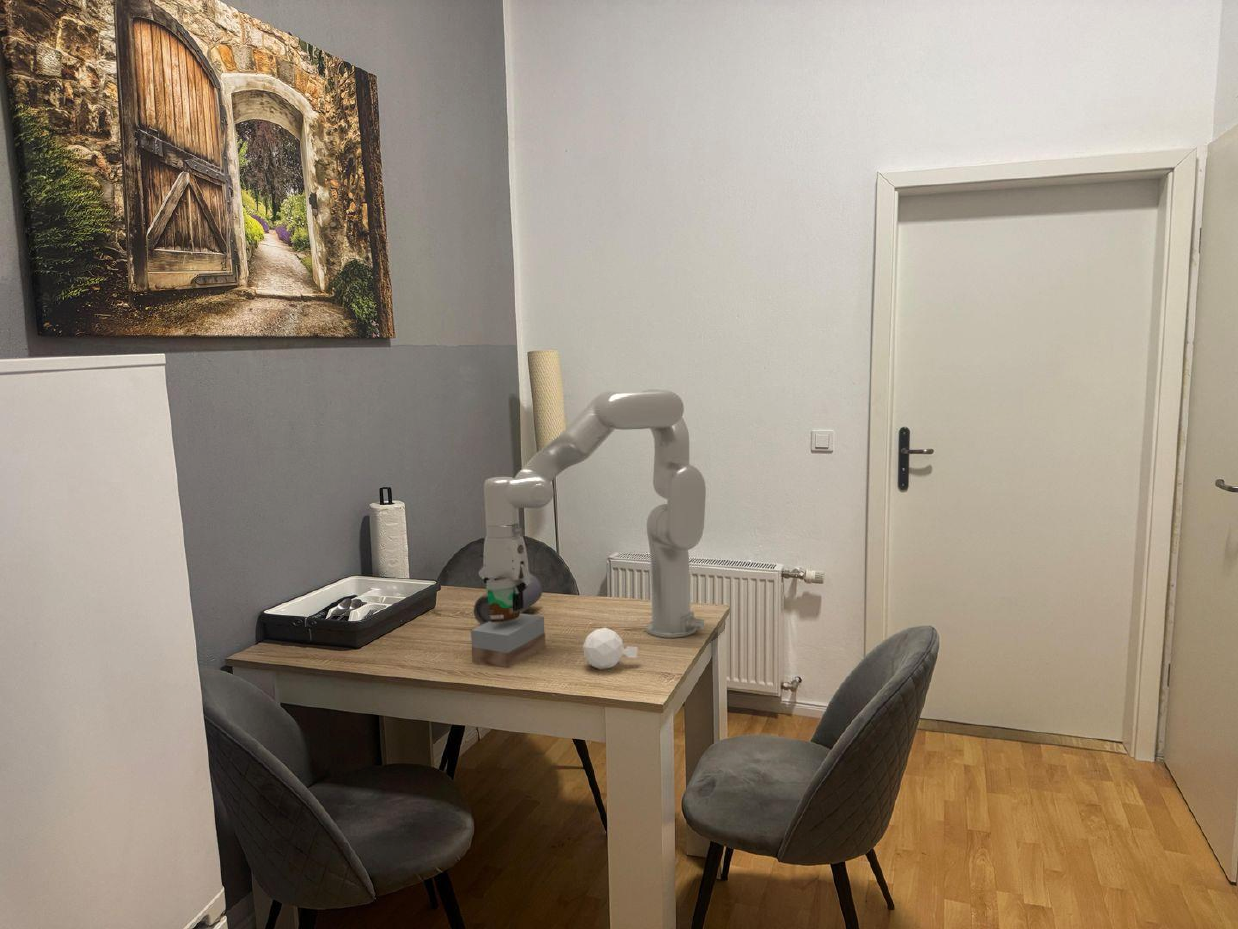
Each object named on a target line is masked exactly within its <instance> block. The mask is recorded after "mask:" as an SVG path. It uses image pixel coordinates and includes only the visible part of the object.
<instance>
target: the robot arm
mask: <svg viewBox="0 0 1238 929" xmlns="http://www.w3.org/2000/svg"><path fill="white" fill-rule="evenodd" d="M684 410H685V407H684V402H683V400H682V398H681V397H680V396H679V395H678V394H677V393H676V392H673V391H671V390H666V389H665V390H664V389H663V390H662V389H652V388H651V389H645V390H642V391H641V392H639V391H638V392H619V391H604V392H601V393H600V394H598V395H597V396H596V397H594V399H593V400H591V402H590V403H588V405H587V406H586V407H585V408H584V409H583V410H582V411H581V412H579V414H578V415H577V417H575V419H574V420H573V421H572V422H571V423H570V424H569V425H568V426H567V427H566V428H565V429H564V430H563V431H562V432H561V433H560V434H559V435H557V436H556V437H554V439H552V440H551V441H550V442H548V443H547V445H545V446H544V447H543V448H541V449H540V450H539V451H538V452H537V453H536V454H535V455H534V456H533V457H532V458H530V459H529V461H528V462H527V463H526V464H524V466H523V467H522V468H521V469H520V470H519V471H518V472H517V473H516V475H515V477H511V476H495V477H490V478H487V479H485V481H484V483H483V494H484V496H483V497H484V512H485V527H486V536H485V537H484V542H483V543H484V544H483V554H482V555H483V559H482V560H483V566H482V567H481V568H480V570H479V571H478V575H479V577H480V578H481V579H482V580H483V582H484V584H485V585H486V583H487V580H494V579H500V580H502V579H508V578H511V580H512V581H514V582H515V581H518V579H519V581H521V584H520V585H519V586H518V585H517V584H516V583H515V585H516V586H515V587H514V593H515V594H513V611H517V610H519V609H522V608H523V604H524V603H523V591H525V589H526V588H527V587H528V585H529V584H530V583H531V582H532V581H533V577H532V575H533V574H531V573H530V571H529V569H530V568H529V561H528V552H527V547H526V543H525V540H524V537H523V536H522V535H521V534H522V533H523V531H524V530H523V528H522V527H520V515H519V514H520V513H519V510H520V509H521V508H523V509H540V508H543V507H546V506H547V505H548V504H549V503H551V501H552V500H553V498H554V487H553V484H552V483H551V482H552V481H553V480H555V478H556V477H557V476H558V475H559V474H561V473H562V472H563V471H565V470H567V469H568V468H570V467H572V466H574V465H578V464H580V463H583V462H584V461H586V460H587V459H589V458H590V457H591V456H592V455H593V454H594V453H595V451H597V450H598V448H599V447H601V445H602V444H603V443H604V442H605V441H606V440H607V439H608V438H609V436H610V435H612V433H613V432H614V431H615V430H621V431H623V430H629V431H630V430H648V429H649V430H650V431H651V434H652V436H653V443H654V445H653V446H654V457H653V473H652V474H653V476H652V478H653V479H652V485H653V486H652V487H653V490H654V492H655V493H656V494H657V495H658V496H659V497H661V498H663V499H665V500H666V501H667V502H666V503H663V504H660V505H657V506H656V507H654V508H653V509H652V510H651V511H650V513H649V514H648V517H647V520H646V533H647V538H648V546H649V557H650V558H649V559H650V585H651V586H650V587H651V588H650V589H651V620H652V621H649V622H648V623H647V624H646V626H645V631H646V632H647V633H648V634H650V635H651V636H655V637H660V638H668V639H669V638H681V637H687V636H691V635H693V634H694V633H696V632H697V630H698V629H699V630H704V629H705V628H704V627H705V620H704V619H703V618H697V617H695V611H691V592H690V591H691V590H690V588H691V586H690V584H691V583H690V557H689V556H690V555H689V550H692V549H694V548H695V547H696V546H697V545H698V544H699V542H700V541H701V539H702V537H703V535H704V534H703V533H704V528H705V514H706V513H705V512H706V493H707V492H706V491H707V490H706V488H707V487H706V482H705V478H704V476H703V474H702V473H701V471H700V470H699V469H698V468H697V467H695V466H693V465H691V464H690V435H689V430H688V427H687V424H686V422H685V420H684V418H683V415H684ZM519 508H520V509H519ZM521 576H522V577H521ZM519 577H520V578H519ZM522 578H524V581H523V580H522Z"/></svg>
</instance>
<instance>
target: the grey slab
mask: <svg viewBox="0 0 1238 929" xmlns="http://www.w3.org/2000/svg"><path fill="white" fill-rule="evenodd" d="M545 632H546V631H545V616H544V615H543V616H542V615H535V614H528V613H523V614H521V613H520V616H519V617H517V618H515V619H513V620H509V621H504V622H491V621H489V622H487V623H485V624H483V625H481V624H480V625H479V626H477V627H474V628H472V629H471V630H470V633H471V634H470V636H471V640H470V641H471V648H472V647H474V648H481V649H487V650H493V651H499V652H506V653H509V652H511V651H512V650H514V649H516V648H518V647H520V646H522V645H523V644H525V643H527V642H529V641H531V640H532V639H534V638H536V637H538V636H540V635H542V634H543V633H545ZM545 634H546V633H545Z"/></svg>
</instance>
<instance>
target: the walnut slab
mask: <svg viewBox="0 0 1238 929" xmlns="http://www.w3.org/2000/svg"><path fill="white" fill-rule="evenodd" d="M545 648H546V633H543V634H542V635H540V636H538V637H536V638H534V639H532V640H531V641H529V642H527V643H525V644H523V645H522V646H520V647H518V648H516V649H514V650H512V651H511V652H509V653H506V652H499V651H493V650H487V649H481V648H474V647H472V646H471V659H472V661H471V662H472V663H476V664H483V665H487V666H493V667H498V668H503V669H510V668H511V667H513V666H515V665H516V664H519V663H520V662H522V661H524V660H526V659H527V658H529V657H531V656H533V655H535V654H537V653H538V652H540V651H542V650H543V649H545Z"/></svg>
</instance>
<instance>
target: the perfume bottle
mask: <svg viewBox="0 0 1238 929" xmlns="http://www.w3.org/2000/svg"><path fill="white" fill-rule="evenodd" d="M582 650H583V654H584V655H583V656H584V658H585V660H586V661H587V662H588V663H589V664H590V665H591V666H592V667H594V668H596V669H598V670H606V669H610V668H614V667H615V666H616V665H617V664H618V663H619V662H620V661H621V659H622V657H623V655H625V657H626V658H630V659H631V658H632V659H637V658H638V651H639V650H638V646H637V647H636V646H628V645H627V646H626V648H624V643H623V639H622V637H620V635H619V634H618V633H617V632H616V631H614V630H611V629H610V628H607V627H602V628H597V629H595V630H592V632H591V633H589V634H588V635H587V636H586V637H585V640H584V643H583V644H582Z"/></svg>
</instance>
